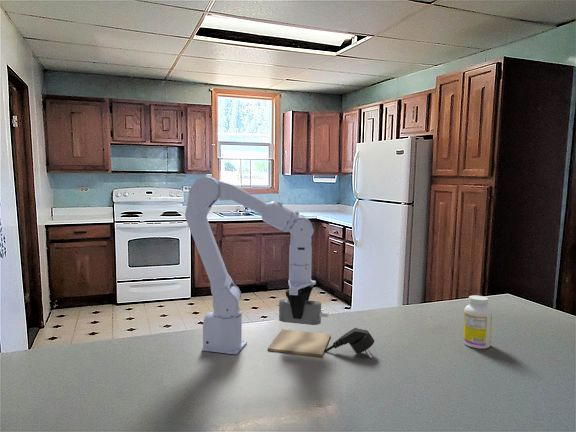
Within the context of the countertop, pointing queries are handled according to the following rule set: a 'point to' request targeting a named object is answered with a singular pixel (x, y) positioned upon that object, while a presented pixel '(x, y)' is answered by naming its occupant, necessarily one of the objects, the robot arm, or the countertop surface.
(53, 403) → the countertop surface
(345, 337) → the power plug
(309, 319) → the grey capsule with tab
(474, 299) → the supplement bottle
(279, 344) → the oak board
